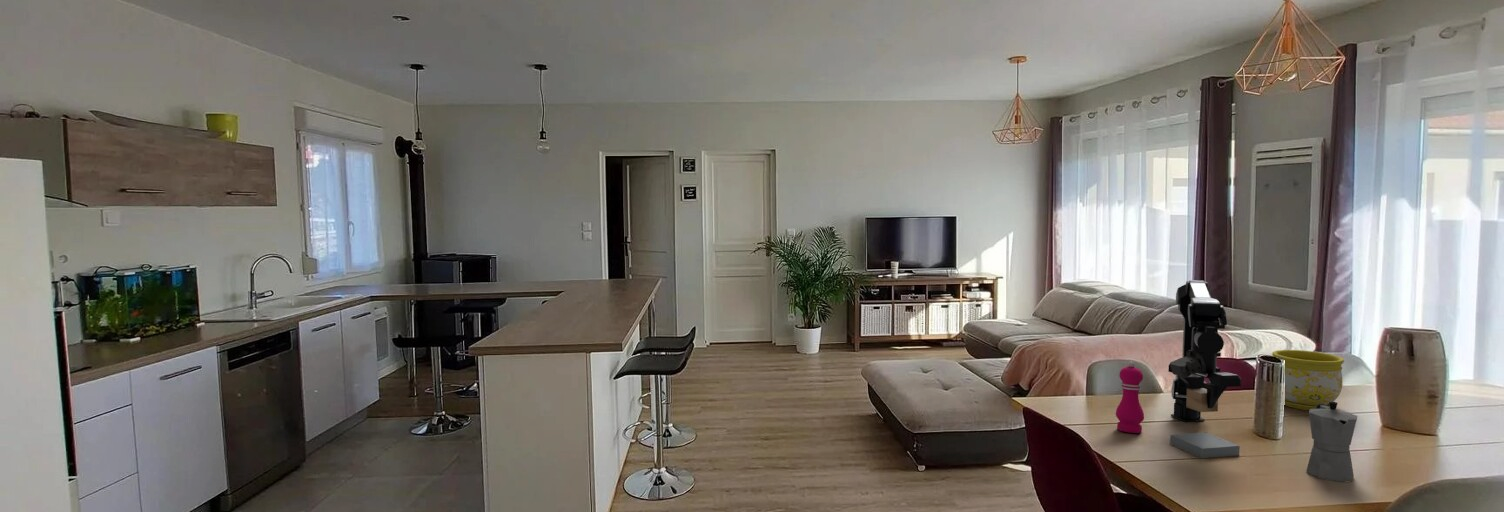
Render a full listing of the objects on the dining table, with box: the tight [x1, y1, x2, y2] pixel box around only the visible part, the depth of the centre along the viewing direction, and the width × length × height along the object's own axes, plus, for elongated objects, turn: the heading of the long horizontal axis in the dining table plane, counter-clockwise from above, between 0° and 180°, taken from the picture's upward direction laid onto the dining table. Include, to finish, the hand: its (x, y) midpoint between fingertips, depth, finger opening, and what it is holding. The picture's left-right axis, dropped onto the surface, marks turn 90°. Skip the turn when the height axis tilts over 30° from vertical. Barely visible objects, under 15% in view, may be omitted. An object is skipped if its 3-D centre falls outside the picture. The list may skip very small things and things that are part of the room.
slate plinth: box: [1169, 431, 1241, 459], centre depth 186 cm, size 11×11×2 cm
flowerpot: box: [1271, 349, 1345, 411], centre depth 224 cm, size 18×18×16 cm
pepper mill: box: [1115, 361, 1145, 434], centre depth 201 cm, size 7×7×20 cm
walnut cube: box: [1186, 388, 1219, 413], centre depth 186 cm, size 5×5×5 cm
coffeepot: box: [1305, 401, 1358, 483], centre depth 168 cm, size 15×9×18 cm, turn 159°
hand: (1202, 405), depth 186 cm, fingers closed on walnut cube, 5 cm apart
